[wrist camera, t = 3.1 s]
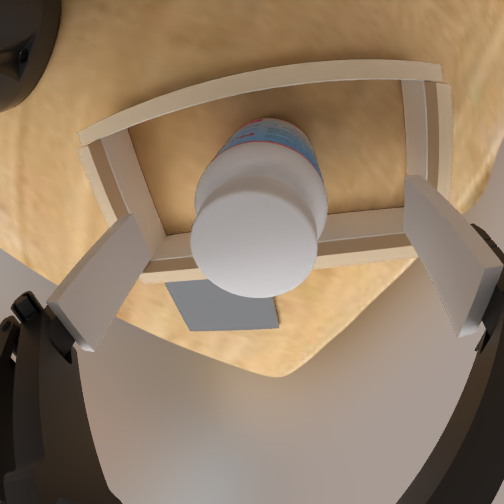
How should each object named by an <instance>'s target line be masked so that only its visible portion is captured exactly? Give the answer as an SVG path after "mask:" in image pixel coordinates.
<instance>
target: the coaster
mask: <svg viewBox="0 0 504 504" xmlns="http://www.w3.org/2000/svg"><path fill="white" fill-rule="evenodd" d="M164 283H165V285H166V287H167V289H168V291H169V293H170V295H171V296H172V298H173V300H174V302H175V304H176V306H177V308H178V310H179V312H180V314H181V315H182V317H183V319H184V321H185V323H186V325H187V326H188V328H189V330H190V331H226V330H253V329H272V328H279V320H278V315H277V311H276V306H275V302H274V297H267V298H251V297H244V296H239V295H236V294H233V293H230V292H228V291H226V290H223V289H222V288H220V287H218V286H217V285H215V284H214V283H213V282H211V281H210V280H209V279H203V280H190V281H177V282H164Z"/></svg>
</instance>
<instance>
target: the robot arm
mask: <svg viewBox="0 0 504 504" xmlns="http://www.w3.org/2000/svg"><path fill="white" fill-rule="evenodd" d="M59 18H60V0H0V112H3V111H5V110H8V109H11V108H13V107H15V106H17V105H18V104H20V103H21V102H22V101H23V100H24V99H25V98H26V97H27V96H28V95H29V94H30V92H31V91H32V90H33V88H34V87H35V85H36V84H37V82H38V80H39V78H40V77H41V75H42V73H43V71H44V69H45V66H46V64H47V62H48V59H49V57H50V54H51V51H52V48H53V45H54V42H55V38H56V34H57V30H58V24H59ZM403 231H404V232H405V234H406V236H407V237H408V239H409V241H410V242H411V244H412V246H413V248H414V249H415V251H416V253H417V255H418V256H419V258H420V260H421V262H422V263H423V265H424V267H425V269H426V271H427V273H428V275H429V277H430V279H431V281H432V283H433V284H434V286H435V289H436V290H437V292H438V295H439V296H440V299H441V301H442V303H443V305H444V307H445V310H446V312H447V314H448V316H449V318H450V320H451V323H452V325H453V328H454V330H455V332H456V335H457V337H462V336H466V335H470V334H474V333H476V331H477V329H478V327H479V325H480V323H481V321H483V323H484V326H485V328H486V330H485V332H484V334H483V336H482V338H481V340H480V342H479V343H478V345H477V347H476V348H475V351H477V350H478V352H477V355H476V358H475V361H474V364H473V367H472V369H471V372H470V375H469V377H468V380H467V382H466V385H465V387H464V390H463V392H462V394H461V397H460V399H459V401H458V404H457V406H456V408H455V410H454V412H453V414H452V416H451V418H450V420H449V422H448V424H447V426H446V428H445V430H444V432H443V434H442V436H441V437H440V439H439V441H438V443H437V444H436V446H435V448H434V449H433V451H432V453H431V454H430V456H429V458H428V459H427V461H426V463H425V464H424V466H423V467H422V469H421V470H420V472H419V473H418V475H417V476H416V477H415V479H414V480H413V482H412V483H411V485H410V486H409V487H408V489H407V490H406V491H405V493H404V494H403V495H402V497H401V498H400V499H399V500H398V502H397V503H396V504H491V503H492V501H493V500H494V498H495V496H496V494H497V492H498V490H499V488H500V486H501V484H502V482H503V480H504V254H503V252H502V251H501V250H500V248H499V247H497V245H496V244H495V243H494V241H493V240H491V238H490V237H489V235H488V234H487V233H486V232H485V231H484V230H482V229H481V228H480V227H478V226H476V225H475V224H469V223H468V222H467V220H466V219H465V218H464V217H463V216H462V215H461V214H460V213H459V212H458V211H457V210H456V209H455V208H454V207H453V206H452V205H451V204H450V203H449V202H448V201H447V200H446V199H445V198H444V197H443V196H442V195H441V194H440V193H439V192H438V191H437V190H436V189H435V188H434V187H433V186H432V185H431V184H430V183H429V182H427V181H426V180H425V179H424V178H423V177H422V176H421V175H405V199H404V219H403ZM151 257H152V256H151V254H150V252H149V249H148V247H147V245H146V243H145V240H144V238H143V236H142V234H141V231H140V229H139V227H138V224H137V222H136V219H135V217H134V215H133V213H131V214H127V215H122V216H121V217H120V218H119V219H118V220H117V221H116V222H115V223H114V224H113V225H112V226H111V227H110V228H109V229H108V230H107V231H106V232H105V233H104V234H103V235H102V237H101V238H100V239H99V240H98V241H97V242H96V243H95V244H94V245H93V246H92V247H91V248H90V250H89V251H88V252H87V253H86V254H85V255H84V256H83V257H82V259H81V260H80V261H79V262H78V263H77V264H76V266H75V267H74V268H73V269H72V270H71V271H70V273H69V274H68V275H67V276H66V277H65V279H64V280H63V281H62V282H61V284H60V285H59V286H58V287H57V289H56V290H55V291H54V292H53V294H52V295H51V296H50V297H49V299H48V300H47V304H48V305H47V306H46V308H45V309H43V307H42V306H41V304H40V303H39V302H38V300H37V299H36V297H35V296H34V294H33V293H32V292H31V291H27V292H25V293H23V294H22V295H21V296H20V297H18V298H17V299H16V300H15V301H14V303H13V304H12V306H11V310H12V311H13V312H14V314H15V315H16V316H17V318H18V319H19V320H20V321H21V323H19V322H18V321H17V319H16V318H15V317H14V316H9V317H8V318H5V319H4V320H3V321H2V322H1V324H0V501H1V502H0V504H122V503H121V501H120V500H119V499H118V498H117V497H115V496H114V494H113V493H111V491H110V490H109V488H108V486H107V483H106V480H105V478H104V475H103V472H102V469H101V466H100V463H99V460H98V456H97V453H96V449H95V446H94V442H93V439H92V435H91V431H90V427H89V422H88V418H87V413H86V409H85V403H84V398H83V392H82V387H81V381H80V374H79V366H78V358H77V352H76V349H75V348H74V347H73V346H72V345H73V343H74V342H75V341H76V342H77V343H78V344H79V346H80V347H81V348H82V349H83V350H86V351H93V352H95V351H96V349H97V347H98V345H99V344H100V342H101V340H102V338H103V336H104V335H105V333H106V331H107V329H108V328H109V326H110V324H111V322H112V321H113V319H114V317H115V315H116V314H117V312H118V310H119V309H120V307H121V305H122V304H123V302H124V300H125V299H126V297H127V295H128V294H129V292H130V290H131V289H132V287H133V286H134V284H135V282H136V281H137V279H138V278H139V276H140V274H141V273H142V271H143V270H144V268H145V267H146V265H147V264H148V262H149V260H150V259H151ZM12 353H13V354H14V355H15V356H16V363H15V362H14V361H13V360H12V359H11V355H12Z"/></svg>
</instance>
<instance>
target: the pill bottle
mask: <svg viewBox="0 0 504 504" xmlns="http://www.w3.org/2000/svg"><path fill="white" fill-rule="evenodd" d="M195 212H196V219H195V221H194V223H193V226H192V229H191V236H190V245H191V251H192V255H193V258H194V260H195V262H196V264H197V266H198V268H199V269H200V270H201V271H202V273H203V274H204V275H205V276H206V277H207V278H208V279H209V280H210V281H211V282H213V283H214V284H215V285H217V286H218V287H220V288H222V289H223V290H226V291H228V292H230V293H233V294H236V295H239V296H244V297H251V298H267V297H274V296H278V295H281V294H284V293H286V292H288V291H290V290H292V289H294V288H295V287H297V286H298V285H300V284H301V283H302V282H303V281H304V280H305V279H306V278H307V277H308V275H309V273H310V272H311V270H312V269H313V266H314V264H315V261H316V257H317V252H318V241H317V240H318V239H319V237H320V235H321V233H322V231H323V229H324V226H325V224H326V220H327V214H328V200H327V194H326V189H325V186H324V182H323V179H322V176H321V172H320V169H319V166H318V162H317V159H316V156H315V153H314V150H313V147H312V145H311V143H310V141H309V139H308V138H307V136H306V135H305V134H304V133H303V132H302V131H301V130H300V129H299V128H298V127H296V126H295V125H293V124H291V123H289V122H287V121H284V120H280V119H276V118H259V119H255V120H252V121H250V122H248V123H246V124H244V125H243V126H241V127H240V128H239V129H238V130H237V131H236V132H235V133H234V134H233V135H232V137H231V138H230V139H229V140H228V141H227V143H226V144H225V145H224V146H223V148H222V149H221V150H220V151H219V152H218V154H217V155H216V156H215V158H214V159H213V160H212V161H211V163H210V164H209V165H208V167H207V168H206V170H205V171H204V173H203V174H202V176H201V178H200V180H199V183H198V186H197V189H196V195H195Z"/></svg>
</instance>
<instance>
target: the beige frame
mask: <svg viewBox="0 0 504 504" xmlns="http://www.w3.org/2000/svg"><path fill="white" fill-rule="evenodd" d="M373 79H387V80H401V86H402V94H403V104H404V117H405V133H406V175H421V176H422V177H423V178H424V179H425V180H426V181H427V182H429V183H430V184H431V185H432V186H433V187H434V188H435V189H436V190H437V191H438V192H439V193H440V194H441V195H442V196H443V197H444V198H445V199H446V200H447V201H448V202H449V197H450V187H451V175H452V156H453V113H452V95H451V84H446V83H439V82H433V81H441V82H443V75H442V67H441V64H434V63H429V62H419V61H407V60H386V59H353V60H332V61H319V62H308V63H299V64H291V65H284V66H277V67H271V68H265V69H259V70H254V71H249V72H244V73H239V74H235V75H230V76H226V77H222V78H218V79H214V80H210V81H207V82H203V83H199V84H196V85H192V86H189V87H186V88H183V89H179V90H176V91H173V92H170V93H167V94H164V95H162V96H159V97H156V98H153V99H150V100H148V101H145V102H143V103H140V104H137V105H135V106H133V107H130V108H128V109H125V110H123V111H121V112H118V113H116V114H114V115H111V116H109V117H107V118H105V119H103V120H101V121H99V122H96V123H94V124H92V125H90V126H89V127H87V128H85V129H83V130H81V131H79V132H77V133H78V136H79V139H80V142H81V145H82V146H84V145H86V144H88V143H90V142H92V143H90V144H88V145H86V146H85V147H83V148H81V149H79V150H77V151H78V153H79V156H80V159H81V162H82V164H83V167H84V169H85V172H86V175H87V177H88V180H89V182H90V185H91V187H92V190H93V192H94V194H95V197H96V199H97V201H98V204H99V206H100V208H101V211H102V213H103V215H104V217H105V219H106V222H107V224H108V226H109V228H110V227H111V226H112V225H113V224H114V223H115V222H116V221H117V220H118V219H119V218H120V217H121V216H122V215H127V214H131V213H133V215H134V217H135V219H136V222H137V224H138V227H139V229H140V231H141V234H142V236H143V238H144V240H145V243H146V245H147V247H148V249H149V252H150V254H151V256H152V257H151V259H150V260H149V262H148V264H147V265H146V267H145V268H144V270H143V271H142V273H141V274H140V276H139V277H140V279H141V280H142V282H143V284H148V283H163V282H177V281H190V280H203V279H208V278H207V277H206V276H205V275H204V274H203V273H202V271H201V270H200V269H199V268H198V266H197V264H196V262H195V260H194V258H193V255H192V251H191V245H190V236H191V232H189V233H182V234H175V235H168V236H166V233H165V231H164V228H163V226H162V223H161V221H160V218H159V216H158V213H157V211H156V208H155V206H154V203H153V200H152V198H151V195H150V192H149V190H148V187H147V184H146V182H145V179H144V176H143V173H142V170H141V168H140V165H139V162H138V159H137V156H136V153H135V150H134V147H133V144H132V141H131V138H130V135H129V132H128V129H127V128H128V127H131V126H133V125H136V124H139V123H141V122H144V121H147V120H150V119H153V118H156V117H159V116H162V115H165V114H168V113H171V112H174V111H177V110H181V109H184V108H187V107H191V106H194V105H198V104H202V103H205V102H209V101H213V100H217V99H221V98H226V97H230V96H235V95H239V94H244V93H249V92H254V91H260V90H265V89H271V88H278V87H284V86H291V85H299V84H308V83H317V82H329V81H344V80H373ZM93 141H94V142H93ZM403 219H404V207H401V208H390V209H379V210H368V211H358V212H348V213H339V214H329V215H327V220H326V224H325V226H324V229H323V231H322V233H321V235H320V237H319V239H318V240H317V241H318V252H317V257H316V261H315V264H314V266H313V269H321V268H331V267H340V266H349V265H358V264H366V263H375V262H383V261H391V260H399V259H407V258H415V257H419V256H418V255H417V253H416V251H415V249H414V248H413V246H412V244H411V242H410V241H409V239H408V237H407V236H406V234H405V232H404V231H403Z"/></svg>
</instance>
